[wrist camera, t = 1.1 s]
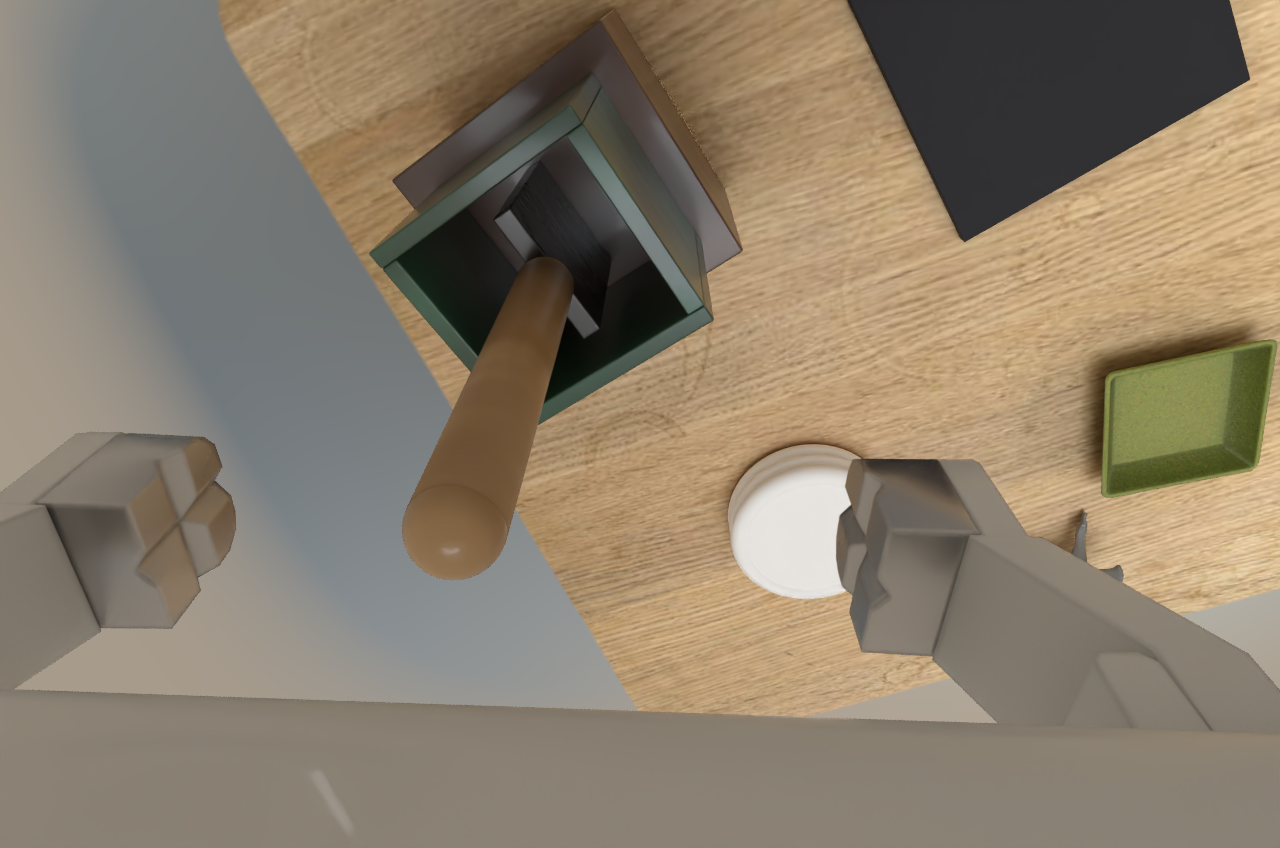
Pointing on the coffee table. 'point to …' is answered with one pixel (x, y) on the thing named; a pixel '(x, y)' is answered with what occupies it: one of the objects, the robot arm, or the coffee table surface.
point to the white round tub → (791, 520)
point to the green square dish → (1186, 418)
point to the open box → (598, 190)
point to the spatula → (507, 384)
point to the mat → (1042, 86)
